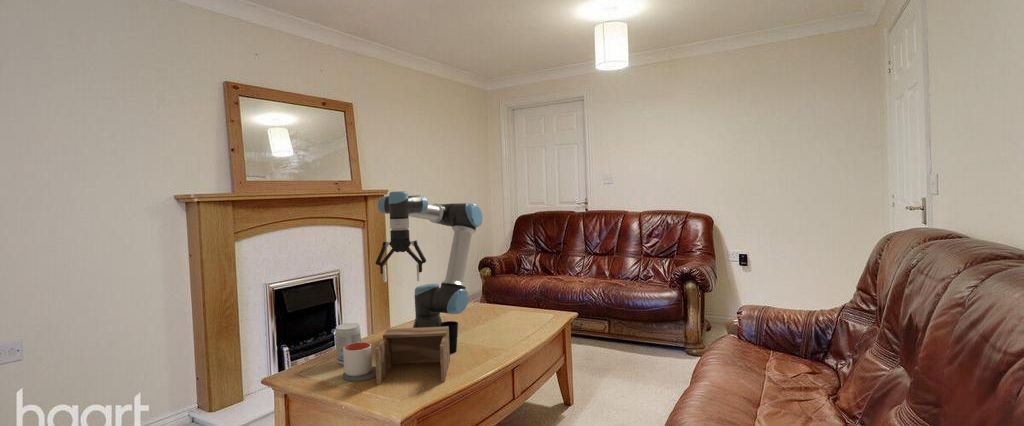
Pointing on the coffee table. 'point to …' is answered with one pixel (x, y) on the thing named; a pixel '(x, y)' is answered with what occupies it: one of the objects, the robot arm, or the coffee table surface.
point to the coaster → (361, 378)
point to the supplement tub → (346, 338)
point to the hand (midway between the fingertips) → (401, 281)
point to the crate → (413, 348)
